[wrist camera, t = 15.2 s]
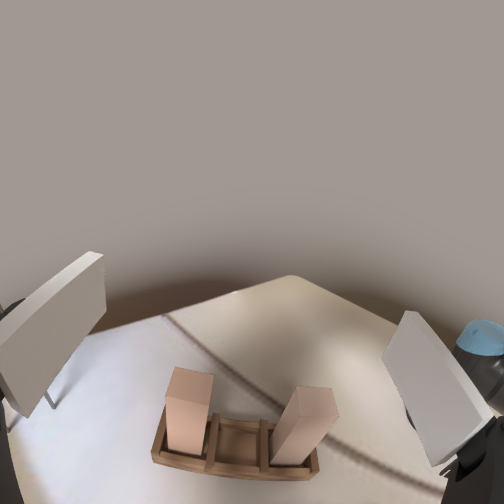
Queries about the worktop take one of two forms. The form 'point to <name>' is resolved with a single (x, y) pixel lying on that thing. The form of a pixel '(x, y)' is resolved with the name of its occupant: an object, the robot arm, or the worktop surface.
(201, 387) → the clay bar
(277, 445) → the clay bar
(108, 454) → the worktop surface
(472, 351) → the robot arm
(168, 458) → the rack
